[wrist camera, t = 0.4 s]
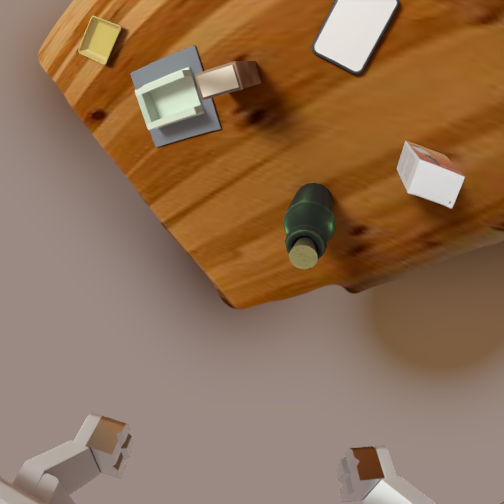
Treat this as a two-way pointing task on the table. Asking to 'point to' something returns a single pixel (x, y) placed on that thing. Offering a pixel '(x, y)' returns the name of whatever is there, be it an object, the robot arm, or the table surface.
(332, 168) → the table surface
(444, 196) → the small box
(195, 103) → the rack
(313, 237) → the potion bottle
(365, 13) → the smartphone
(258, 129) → the table surface
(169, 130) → the mat
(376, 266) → the table surface
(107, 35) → the yellow square tray
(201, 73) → the tall wooden pillar
